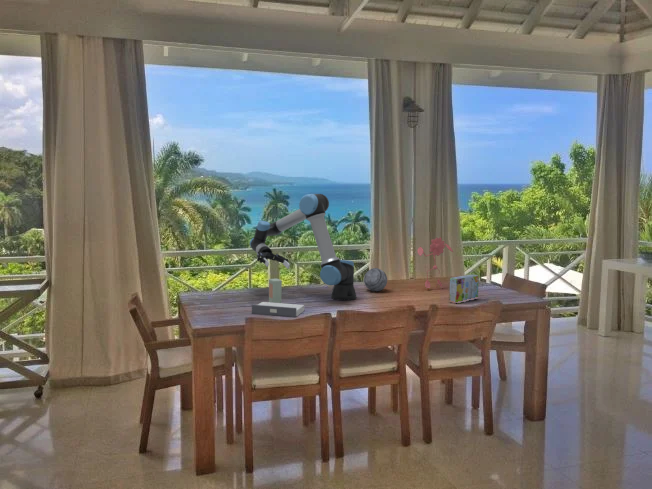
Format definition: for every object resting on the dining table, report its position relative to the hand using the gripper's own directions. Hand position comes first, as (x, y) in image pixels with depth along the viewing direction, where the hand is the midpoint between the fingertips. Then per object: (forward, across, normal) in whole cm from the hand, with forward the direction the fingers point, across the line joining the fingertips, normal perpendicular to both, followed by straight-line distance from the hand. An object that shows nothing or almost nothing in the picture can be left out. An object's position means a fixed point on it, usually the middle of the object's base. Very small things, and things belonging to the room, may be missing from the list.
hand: (278, 265), depth 301 cm
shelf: (+27, +8, -16) cm, 32 cm away
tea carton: (+10, +1, -20) cm, 22 cm away
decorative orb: (+5, -72, -9) cm, 72 cm away
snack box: (+51, -99, +8) cm, 112 cm away
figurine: (+20, -108, +1) cm, 110 cm away
